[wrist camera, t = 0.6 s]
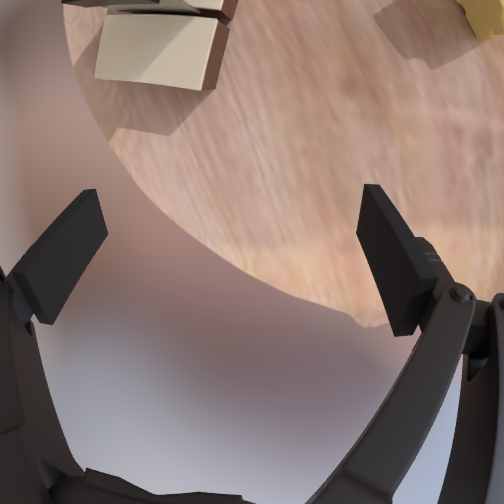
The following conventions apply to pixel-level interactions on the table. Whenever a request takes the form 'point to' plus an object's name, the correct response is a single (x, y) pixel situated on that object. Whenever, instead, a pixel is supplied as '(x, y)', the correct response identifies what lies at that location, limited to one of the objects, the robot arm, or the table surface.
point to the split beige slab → (166, 46)
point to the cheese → (484, 16)
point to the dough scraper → (138, 5)
